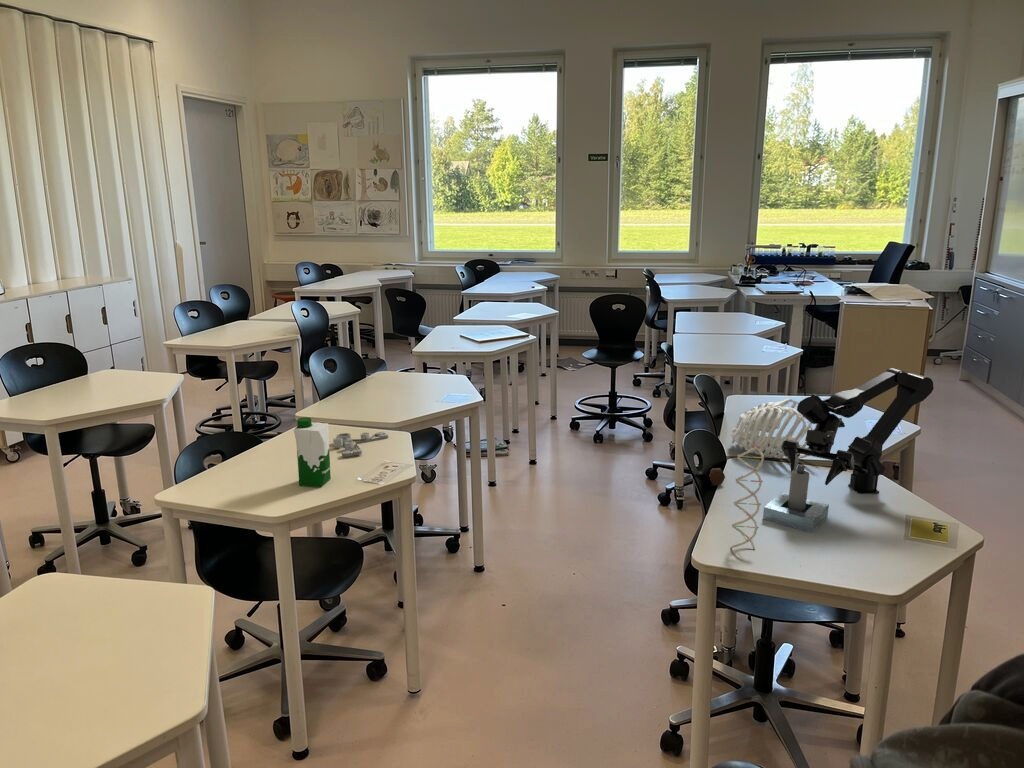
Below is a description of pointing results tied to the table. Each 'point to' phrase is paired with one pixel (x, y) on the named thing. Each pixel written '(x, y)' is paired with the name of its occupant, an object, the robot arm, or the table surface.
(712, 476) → the bolt
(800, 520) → the grey square frame
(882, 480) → the table surface
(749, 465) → the dna model
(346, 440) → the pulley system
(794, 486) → the plug
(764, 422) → the rib cage
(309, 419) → the milk carton
